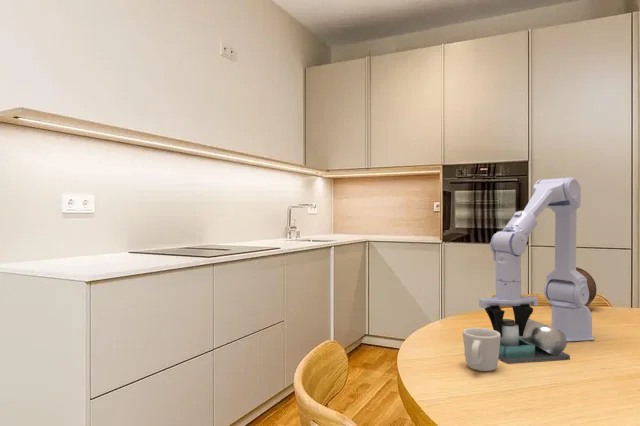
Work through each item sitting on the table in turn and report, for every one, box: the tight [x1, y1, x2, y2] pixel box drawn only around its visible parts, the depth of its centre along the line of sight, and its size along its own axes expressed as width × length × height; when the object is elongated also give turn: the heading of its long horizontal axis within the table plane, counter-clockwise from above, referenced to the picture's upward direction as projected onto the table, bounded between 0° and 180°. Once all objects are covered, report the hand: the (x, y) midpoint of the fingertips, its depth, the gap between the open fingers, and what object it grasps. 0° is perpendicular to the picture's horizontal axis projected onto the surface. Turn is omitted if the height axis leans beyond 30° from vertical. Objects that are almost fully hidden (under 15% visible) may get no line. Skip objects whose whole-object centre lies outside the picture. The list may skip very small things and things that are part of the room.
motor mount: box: [498, 318, 571, 365], centre depth 110 cm, size 16×13×7 cm
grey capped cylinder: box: [500, 318, 519, 346], centre depth 110 cm, size 5×5×6 cm
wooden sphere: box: [560, 266, 597, 307], centre depth 161 cm, size 15×15×15 cm
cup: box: [462, 327, 501, 372], centre depth 99 cm, size 11×8×8 cm
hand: (508, 335), depth 110 cm, fingers closed on grey capped cylinder, 5 cm apart
